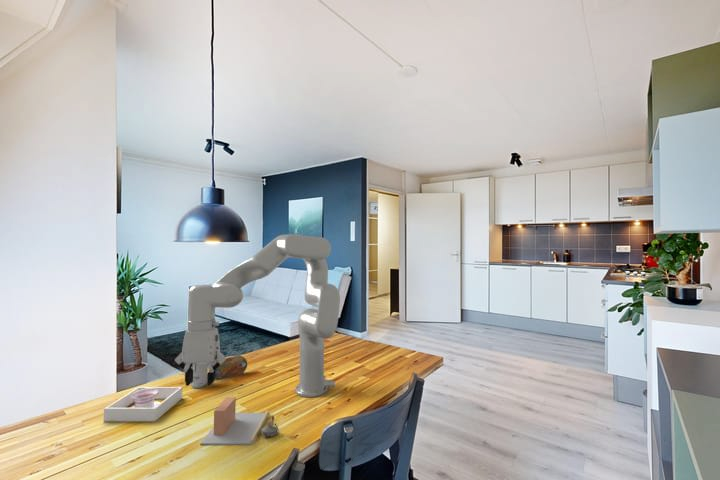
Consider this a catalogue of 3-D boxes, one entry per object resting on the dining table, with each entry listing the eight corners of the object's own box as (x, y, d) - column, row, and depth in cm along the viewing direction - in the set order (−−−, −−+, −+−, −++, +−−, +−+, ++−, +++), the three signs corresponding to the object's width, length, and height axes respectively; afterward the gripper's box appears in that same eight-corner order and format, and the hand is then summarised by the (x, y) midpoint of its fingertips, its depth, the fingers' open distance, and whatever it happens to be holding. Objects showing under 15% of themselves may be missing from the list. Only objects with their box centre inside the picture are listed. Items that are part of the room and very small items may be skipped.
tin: (210, 381, 134) (210, 360, 135) (209, 378, 137) (209, 358, 137) (247, 374, 142) (247, 354, 143) (245, 371, 145) (246, 353, 145)
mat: (268, 414, 107) (268, 410, 108) (252, 444, 90) (252, 440, 91) (224, 414, 107) (224, 410, 107) (200, 444, 90) (200, 440, 90)
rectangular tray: (182, 398, 119) (182, 387, 119) (154, 421, 102) (155, 408, 103) (137, 398, 118) (138, 387, 118) (103, 421, 102) (103, 408, 102)
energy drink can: (187, 387, 128) (188, 349, 129) (200, 381, 134) (201, 345, 134) (196, 390, 125) (197, 351, 126) (210, 384, 131) (211, 347, 131)
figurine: (261, 440, 92) (264, 418, 93) (259, 433, 96) (262, 412, 97) (279, 439, 94) (282, 417, 95) (276, 432, 98) (280, 411, 99)
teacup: (171, 409, 111) (171, 391, 111) (131, 424, 101) (131, 404, 101) (154, 400, 117) (154, 383, 117) (115, 414, 107) (115, 395, 107)
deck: (235, 419, 103) (235, 397, 104) (223, 435, 94) (224, 411, 95) (225, 419, 103) (226, 397, 104) (213, 435, 94) (214, 410, 95)
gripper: (233, 322, 104) (232, 379, 103) (180, 322, 103) (178, 379, 103) (224, 328, 96) (222, 389, 96) (166, 328, 96) (164, 389, 95)
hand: (200, 383), depth 99 cm, fingers open, 5 cm apart
